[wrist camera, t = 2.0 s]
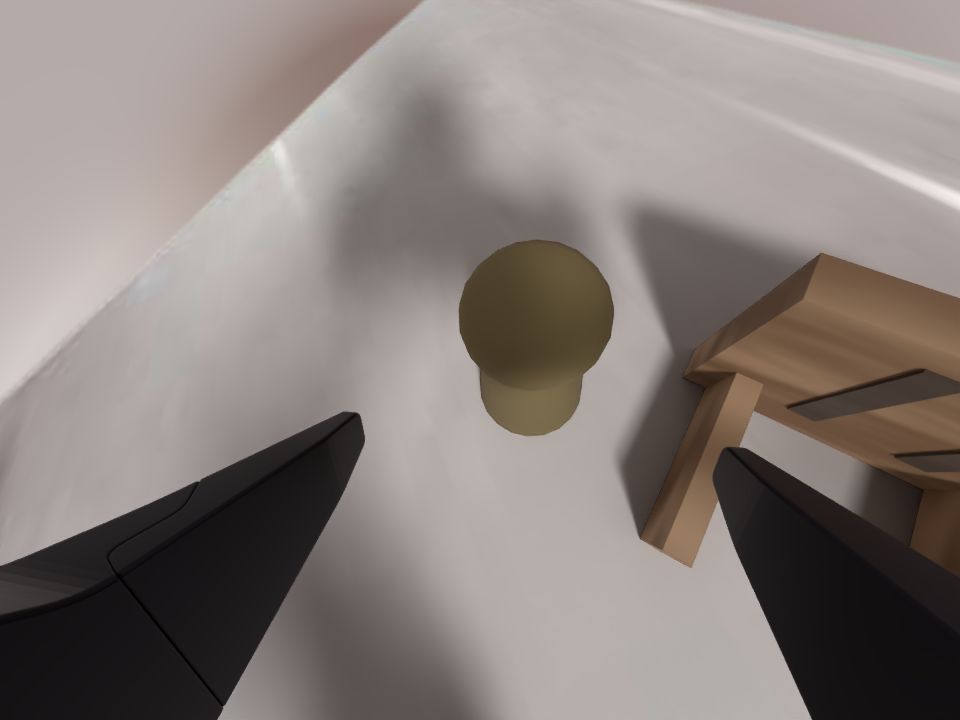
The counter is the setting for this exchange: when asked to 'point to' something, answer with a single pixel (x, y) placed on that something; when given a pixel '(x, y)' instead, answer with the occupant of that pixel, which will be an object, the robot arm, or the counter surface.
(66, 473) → the counter surface
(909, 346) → the post bracket
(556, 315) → the cork
